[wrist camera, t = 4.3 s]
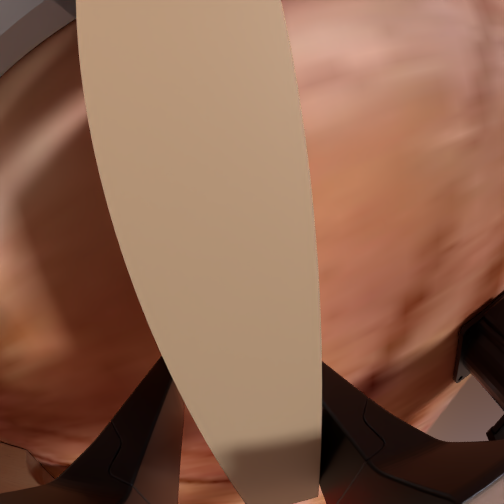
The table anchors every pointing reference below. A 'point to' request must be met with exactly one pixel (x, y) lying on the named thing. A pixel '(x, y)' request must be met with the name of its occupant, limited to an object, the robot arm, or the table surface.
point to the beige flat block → (216, 220)
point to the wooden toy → (20, 470)
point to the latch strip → (29, 26)
